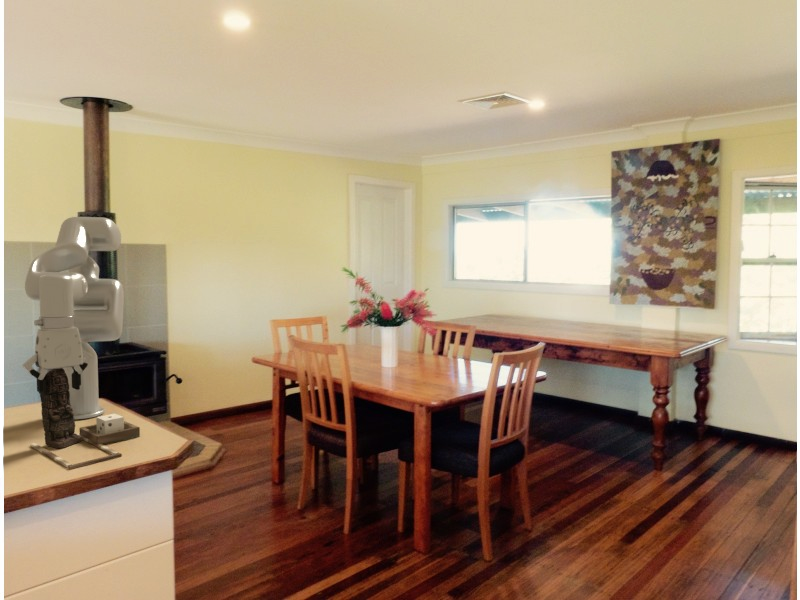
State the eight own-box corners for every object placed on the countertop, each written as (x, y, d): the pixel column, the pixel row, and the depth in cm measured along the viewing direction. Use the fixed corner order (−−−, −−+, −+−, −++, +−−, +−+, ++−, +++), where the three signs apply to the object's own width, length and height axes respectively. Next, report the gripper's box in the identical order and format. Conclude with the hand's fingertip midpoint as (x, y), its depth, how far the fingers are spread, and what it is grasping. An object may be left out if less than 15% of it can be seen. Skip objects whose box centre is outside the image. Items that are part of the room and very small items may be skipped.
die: (96, 435, 166) (96, 417, 166) (115, 431, 170) (114, 413, 169) (105, 439, 163) (104, 420, 162) (124, 435, 167) (123, 416, 166)
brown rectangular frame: (30, 445, 158) (30, 443, 158) (79, 435, 168) (79, 433, 168) (70, 469, 143) (70, 466, 143) (121, 456, 152) (121, 453, 152)
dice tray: (79, 436, 166) (79, 427, 166) (120, 428, 175) (120, 419, 174) (98, 446, 159) (98, 436, 159) (139, 436, 168) (139, 427, 167)
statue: (60, 449, 156) (57, 371, 154) (39, 445, 159) (36, 368, 157) (82, 441, 163) (80, 366, 161) (62, 438, 165) (59, 363, 163)
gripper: (25, 327, 149) (27, 400, 150) (98, 321, 162) (100, 388, 164) (13, 324, 153) (16, 395, 155) (86, 318, 167) (88, 383, 168)
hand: (59, 391), depth 159 cm, fingers open, 7 cm apart
